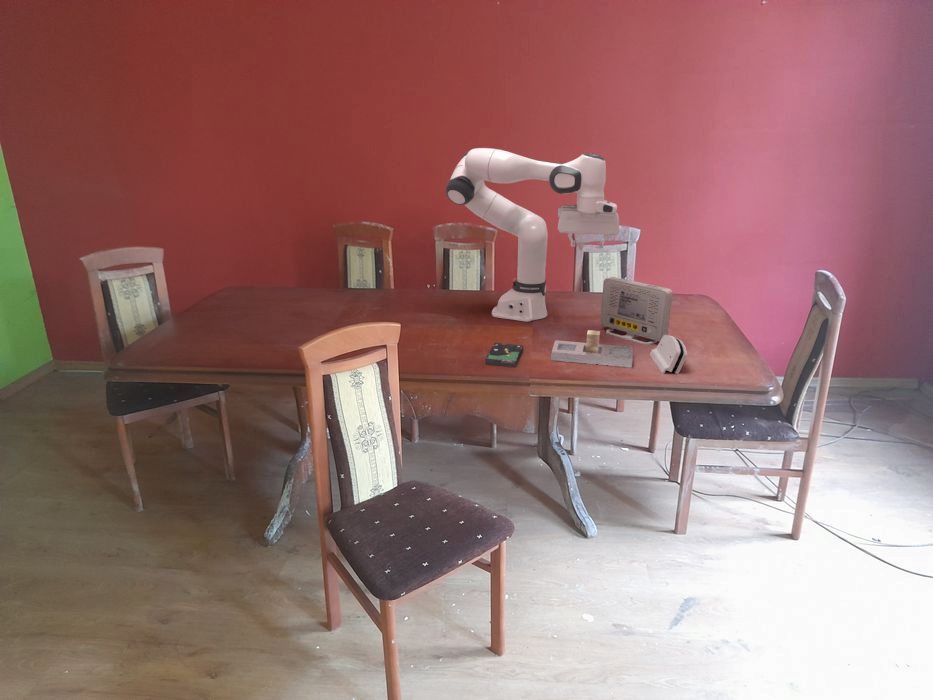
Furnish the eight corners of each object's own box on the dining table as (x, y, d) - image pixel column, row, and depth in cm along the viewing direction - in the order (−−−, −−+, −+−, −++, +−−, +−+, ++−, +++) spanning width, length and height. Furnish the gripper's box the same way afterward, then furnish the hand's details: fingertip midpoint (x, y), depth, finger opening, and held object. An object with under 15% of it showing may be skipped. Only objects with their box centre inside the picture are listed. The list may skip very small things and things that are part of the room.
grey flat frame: (551, 360, 199) (551, 351, 198) (554, 348, 209) (555, 340, 208) (631, 367, 193) (632, 359, 192) (631, 355, 203) (632, 346, 202)
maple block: (585, 359, 200) (587, 334, 196) (585, 355, 203) (587, 330, 200) (597, 360, 199) (599, 335, 195) (597, 356, 202) (600, 331, 199)
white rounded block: (649, 353, 204) (662, 327, 200) (661, 358, 204) (675, 332, 201) (662, 374, 188) (677, 346, 185) (676, 378, 189) (691, 351, 185)
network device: (669, 342, 214) (676, 288, 206) (657, 348, 208) (664, 293, 201) (608, 325, 231) (613, 274, 223) (595, 330, 225) (599, 279, 218)
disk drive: (493, 349, 209) (485, 365, 196) (493, 342, 208) (485, 357, 195) (523, 352, 207) (516, 368, 194) (523, 344, 206) (516, 360, 193)
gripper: (557, 205, 197) (555, 247, 202) (621, 207, 192) (617, 250, 198) (559, 202, 203) (557, 243, 208) (621, 204, 198) (617, 246, 203)
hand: (586, 246), depth 203 cm, fingers open, 8 cm apart
